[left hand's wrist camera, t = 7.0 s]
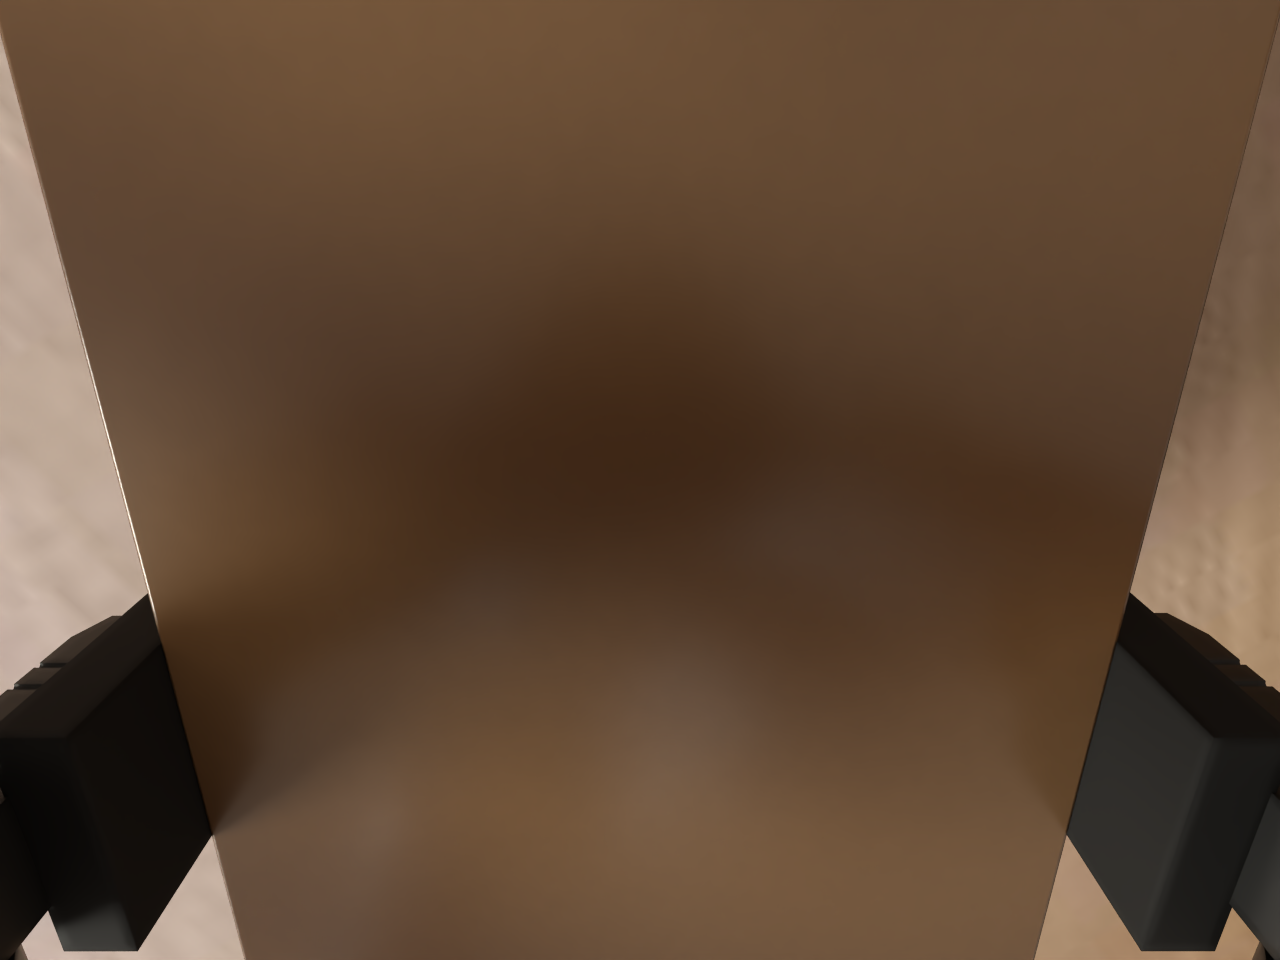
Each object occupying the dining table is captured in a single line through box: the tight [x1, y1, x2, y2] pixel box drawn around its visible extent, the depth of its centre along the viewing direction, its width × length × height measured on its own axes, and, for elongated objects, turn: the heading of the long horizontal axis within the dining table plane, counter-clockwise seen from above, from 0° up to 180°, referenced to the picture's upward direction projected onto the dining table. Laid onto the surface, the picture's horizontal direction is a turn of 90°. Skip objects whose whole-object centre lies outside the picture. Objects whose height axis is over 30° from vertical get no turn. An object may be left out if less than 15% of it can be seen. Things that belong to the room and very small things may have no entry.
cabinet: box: [0, 0, 1280, 960], centre depth 13 cm, size 18×10×11 cm, turn 0°
